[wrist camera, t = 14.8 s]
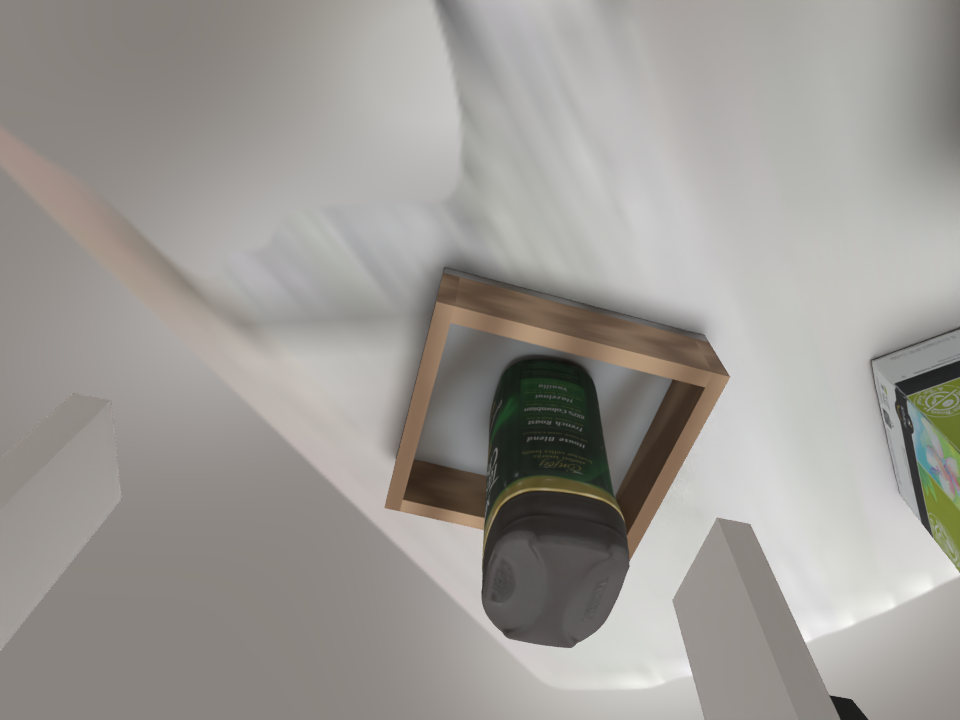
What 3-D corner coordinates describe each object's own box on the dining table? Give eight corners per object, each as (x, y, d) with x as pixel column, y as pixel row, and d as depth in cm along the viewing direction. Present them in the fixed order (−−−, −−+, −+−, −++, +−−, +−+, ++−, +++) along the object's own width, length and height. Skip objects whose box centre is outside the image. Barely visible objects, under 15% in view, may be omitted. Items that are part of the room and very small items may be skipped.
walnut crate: (704, 335, 46) (730, 377, 41) (617, 509, 55) (628, 561, 50) (444, 267, 45) (436, 301, 39) (396, 458, 53) (384, 507, 48)
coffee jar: (500, 346, 46) (498, 527, 30) (604, 363, 47) (657, 550, 31) (479, 448, 51) (468, 652, 35) (574, 463, 52) (605, 671, 35)
